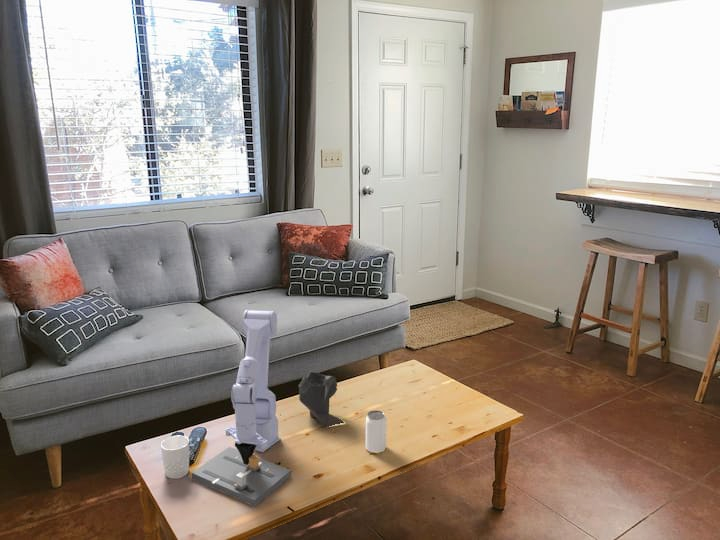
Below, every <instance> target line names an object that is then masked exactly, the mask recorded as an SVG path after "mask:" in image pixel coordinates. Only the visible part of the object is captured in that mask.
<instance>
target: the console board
mask: <svg viewBox="0 0 720 540" xmlns="http://www.w3.org/2000/svg"><path fill="white" fill-rule="evenodd" d="M258 463H259V465H261V467H260V468H259V469H258V470H256V471H252V470H250V469H247V467H248V466H249V464H248V465H246V464H244V463H243V460H242V457H241V455H240V453H239V451H238V449H237V448H234V447H231V446H229V447H227V448H225V449H224V450H223V451H221V452H220V453H218V454H216V455H215V456H214V457H212V458H210V459H209V460H208V461H206V462H205V463H204V464H202V465H200V466H199V467H197V468H196V469H194V470H193V471H192V472H190V474H191V479H192V480H193V481H196V482H198V483H201V484H204V485H206V486H208V487H210V488H212V489H213V490H217V491H219V492H221V493H224V494H227V495H228V496H230V497H233V498H235V499H238V500H240V501H241V502H244V503H246V504H249V505H250V506H253V507H256V506H257V505H259V504H260V503H261V502H262V501H263V500H264V499H266V498H267V497H268V496H269V495H270V494H272V493H273V492H274V491H275V490H277V489H278V488H279V487H280V486H281V485H283V484H284V483H285V482H286V481H287V480H288V479H290V478H291V476H292V473H291V470H290V469H288V468H285V467H284V466H281V465H277V464H275V463H272V462H270V461H268V460H264V459H262V458H259V457H258ZM240 472H241V473H244V474H246V482H247V483H249V485H248V486H247V487H245V488H244V489H243V490H241V489H238V488H236V487H234V485H235V484H236V475H237V474H238V473H240Z"/></svg>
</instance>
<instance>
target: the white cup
mask: <svg viewBox="0 0 720 540" xmlns="http://www.w3.org/2000/svg"><path fill="white" fill-rule="evenodd" d="M160 448H161V449H160V450H161V456H162V457H161V458H162V463H163V467H164V474H165V476H166V477H167V478H169V479H173V480H174V479H176V480H177V479H181V478H183V477H185V476H187V475H188V473H189V471H190V441H189V438H188V437H187V436H184V435H178V434H177V435H172V436H169V437H166V438H165V439H163V440H162V441H161V442H160Z"/></svg>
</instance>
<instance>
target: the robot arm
mask: <svg viewBox="0 0 720 540" xmlns="http://www.w3.org/2000/svg"><path fill="white" fill-rule="evenodd" d="M277 315H278V314H277V313H276V311H275V310H253V309H252V310H249V309H245V311H244V312H243V314H242V319H241V321H242V326H243V327H242V328H243V329H244V333H245V334H246V344H245V351H244V352H245V354H244V358H242V359H241V360H240V361H239V364H238V365H239V367H238V371H237V374H236V375H237V377H236V380H235V381H236V382H235V384H233V385H232V388H231V392H230V393H231V394H230V399H231V402H232V408H233V410H234V417H235V427H231V426H230V427H227V428H226V429H225V437H230V436H231V437H232V438H233V439H235V440H234V447H235V449H237V450H238V451H239V453H240V455H241V457H242V460H243V463H244V464H246V465H248V464H249V457H251V456H252V455H254V453H255V451H258V452H260V453H264V452H265V451H267V450H268V449H270V448H271V447H272V446H273V445H274V444H277V443H278V442H279V441H280V440H281V437H280V436H279V420H278V418H277V416H276V415H277V414H276V413H277V402H276V400H277V399H276V398H277V397H276V394H274V392H272V391H271V390H270V389H269V388H268V382H269V381H268V379H269V362H270V360H269V359H270V344H271V338H274V337H275V336H276V334H277V329H278V327H277V325H278V316H277Z"/></svg>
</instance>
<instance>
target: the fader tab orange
mask: <svg viewBox="0 0 720 540" xmlns="http://www.w3.org/2000/svg"><path fill="white" fill-rule="evenodd" d="M258 458H259V456H258V455H255V454H253V455H252V456H251V457H249V466H248V467H247V469H250V470H252V471H256V470H258V469H259V468H260V467H261V465H259V463H258Z"/></svg>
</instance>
